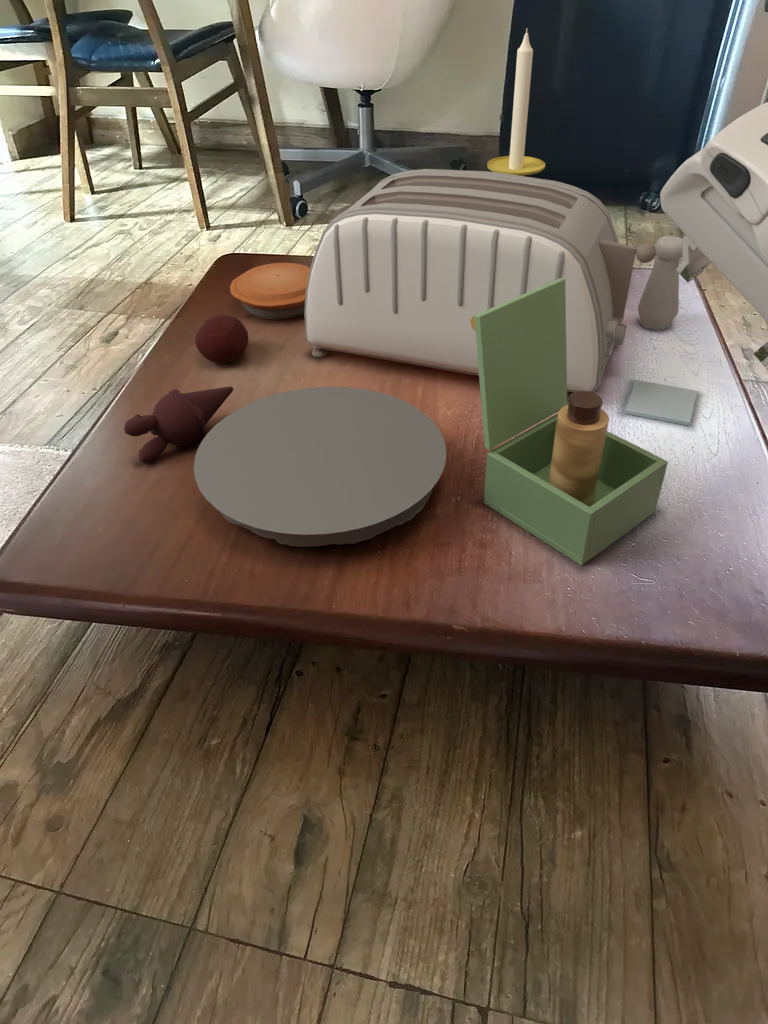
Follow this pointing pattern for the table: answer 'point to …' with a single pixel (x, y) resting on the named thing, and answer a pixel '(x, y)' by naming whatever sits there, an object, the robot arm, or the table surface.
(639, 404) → the tile
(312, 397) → the flat disc
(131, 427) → the gnome figurine
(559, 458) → the pepper mill
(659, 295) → the salt shaker
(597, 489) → the green box
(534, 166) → the candle
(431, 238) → the toaster
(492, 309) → the box lid
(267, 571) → the table surface
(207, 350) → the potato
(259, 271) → the pie
